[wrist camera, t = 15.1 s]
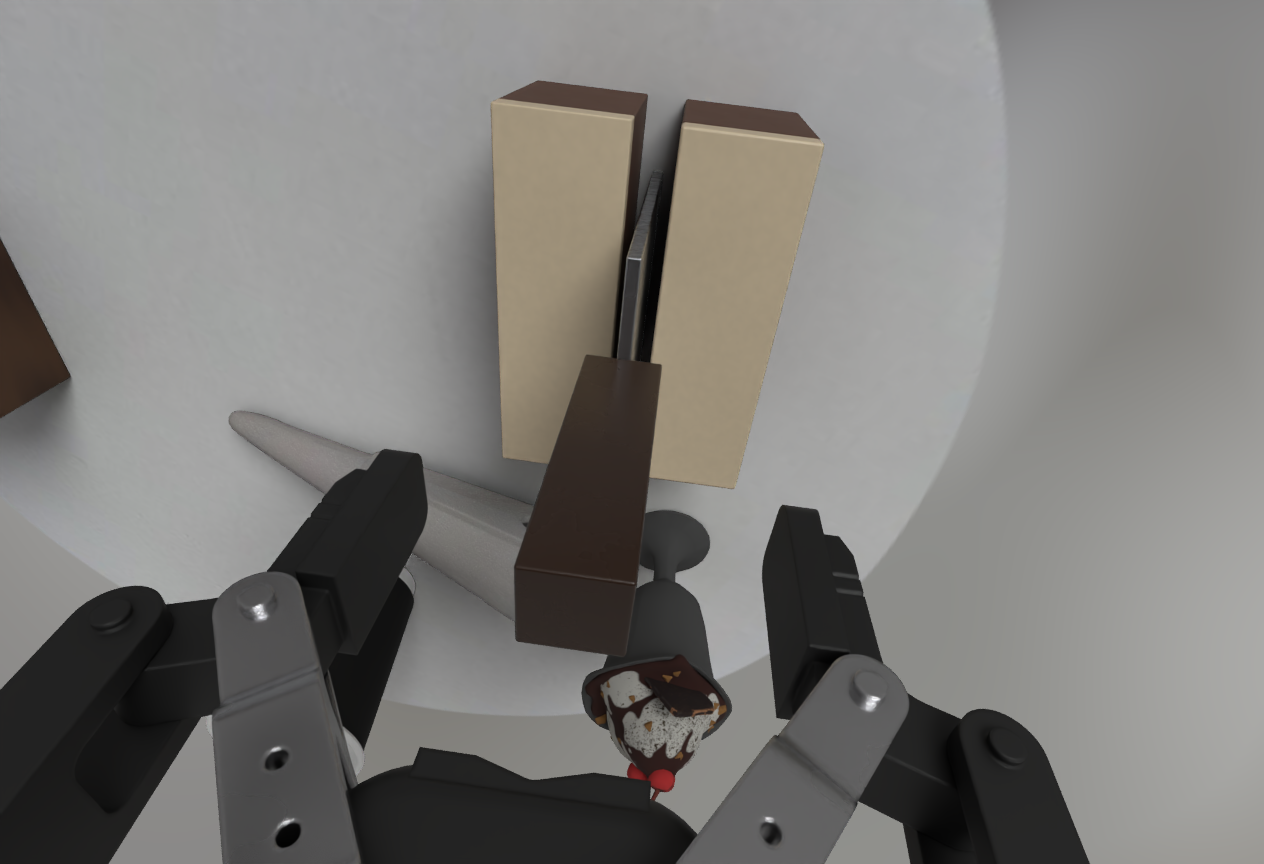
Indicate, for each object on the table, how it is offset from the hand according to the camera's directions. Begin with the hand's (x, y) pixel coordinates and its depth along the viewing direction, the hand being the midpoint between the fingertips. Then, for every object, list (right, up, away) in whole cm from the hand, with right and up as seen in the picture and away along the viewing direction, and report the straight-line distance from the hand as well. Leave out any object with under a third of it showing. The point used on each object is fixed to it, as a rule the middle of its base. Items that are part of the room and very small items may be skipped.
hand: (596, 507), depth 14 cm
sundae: (+3, -5, +22) cm, 22 cm away
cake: (+1, +9, +12) cm, 15 cm away
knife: (+1, +9, +12) cm, 15 cm away
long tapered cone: (-12, -2, +21) cm, 25 cm away
